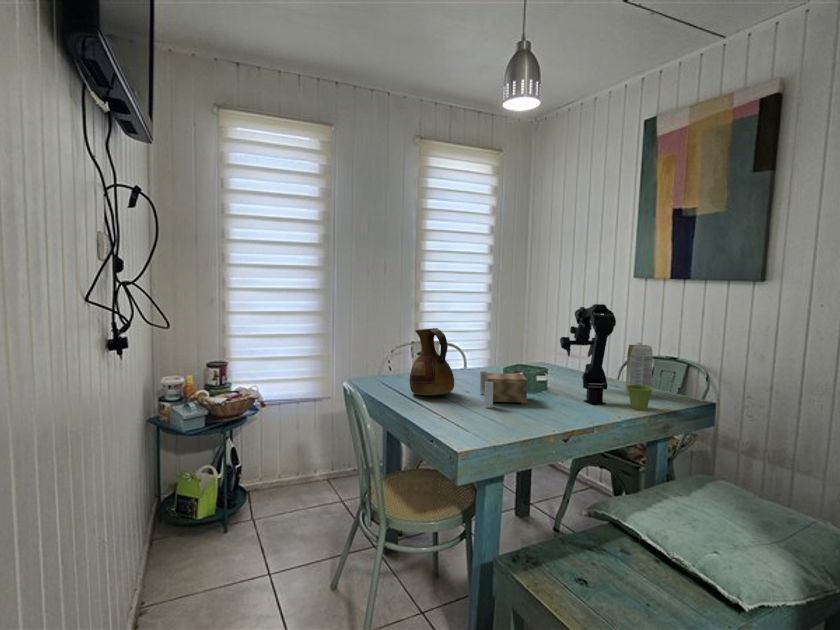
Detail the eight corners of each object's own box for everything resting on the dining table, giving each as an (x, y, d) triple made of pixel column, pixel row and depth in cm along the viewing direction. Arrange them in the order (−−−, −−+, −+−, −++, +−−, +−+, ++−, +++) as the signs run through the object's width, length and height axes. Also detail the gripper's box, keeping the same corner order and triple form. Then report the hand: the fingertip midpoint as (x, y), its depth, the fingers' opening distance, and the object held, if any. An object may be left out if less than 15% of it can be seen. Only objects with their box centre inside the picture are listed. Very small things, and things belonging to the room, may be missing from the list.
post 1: (486, 393, 210) (487, 371, 209) (487, 394, 207) (487, 372, 206) (479, 393, 210) (480, 371, 209) (480, 394, 207) (480, 372, 206)
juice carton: (645, 394, 212) (647, 341, 210) (652, 398, 204) (654, 344, 202) (624, 393, 213) (626, 341, 211) (630, 397, 205) (632, 343, 203)
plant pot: (657, 410, 185) (658, 388, 184) (639, 412, 182) (640, 390, 181) (638, 404, 194) (639, 383, 193) (621, 406, 190) (622, 385, 190)
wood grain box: (521, 397, 203) (522, 373, 202) (526, 404, 191) (527, 379, 190) (484, 396, 203) (484, 372, 203) (487, 403, 191) (487, 378, 191)
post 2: (491, 406, 188) (492, 381, 187) (492, 408, 185) (493, 383, 184) (484, 406, 188) (485, 381, 187) (485, 408, 185) (485, 383, 184)
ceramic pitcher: (427, 387, 219) (428, 324, 217) (463, 394, 207) (464, 327, 204) (399, 395, 204) (400, 327, 202) (436, 403, 191) (437, 330, 189)
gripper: (600, 321, 221) (594, 345, 230) (560, 320, 223) (556, 344, 232) (606, 336, 212) (599, 361, 221) (564, 335, 214) (559, 360, 223)
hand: (578, 356), depth 225 cm, fingers open, 9 cm apart
